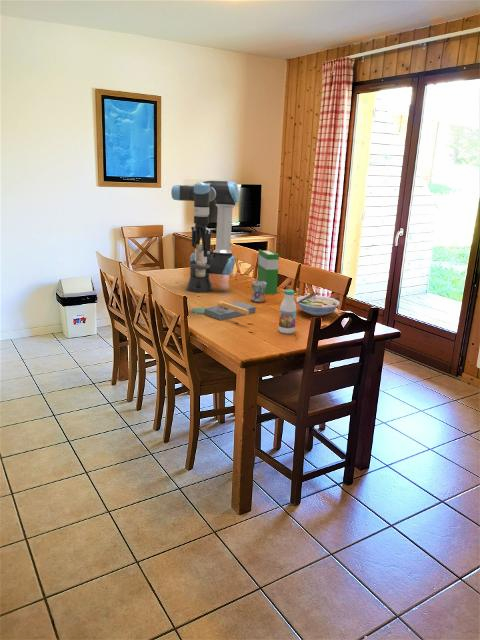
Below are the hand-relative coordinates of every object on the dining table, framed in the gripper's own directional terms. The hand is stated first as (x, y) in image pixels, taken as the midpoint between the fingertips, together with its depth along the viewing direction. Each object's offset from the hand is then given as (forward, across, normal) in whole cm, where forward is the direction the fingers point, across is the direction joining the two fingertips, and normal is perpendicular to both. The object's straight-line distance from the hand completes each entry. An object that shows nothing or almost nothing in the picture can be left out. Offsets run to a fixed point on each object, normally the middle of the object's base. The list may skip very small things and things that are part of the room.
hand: (200, 262), depth 255 cm
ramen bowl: (+27, +39, +48) cm, 67 cm away
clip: (+21, +22, +3) cm, 30 cm away
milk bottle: (+27, +49, +14) cm, 57 cm away
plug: (+7, 0, 0) cm, 7 cm away
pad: (+26, 0, 0) cm, 26 cm away
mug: (+27, +1, +41) cm, 49 cm away
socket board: (+26, +12, +11) cm, 31 cm away
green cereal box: (+27, -13, +62) cm, 69 cm away
